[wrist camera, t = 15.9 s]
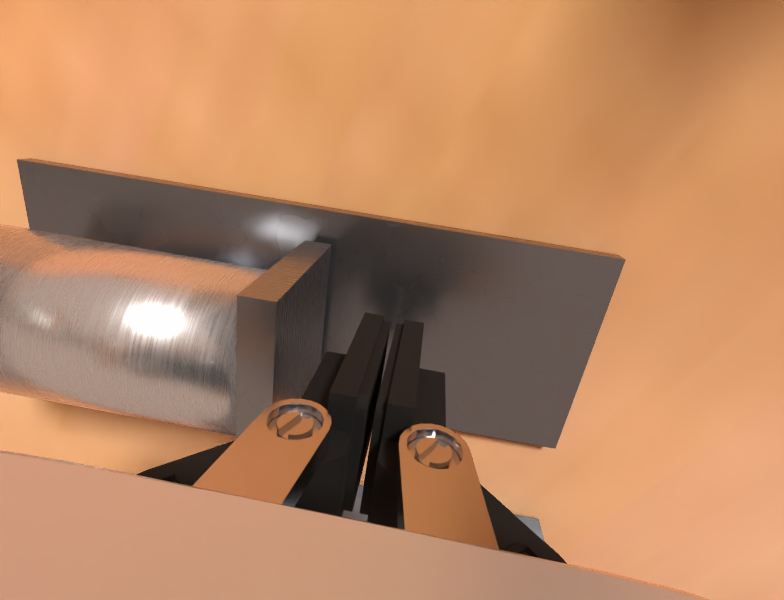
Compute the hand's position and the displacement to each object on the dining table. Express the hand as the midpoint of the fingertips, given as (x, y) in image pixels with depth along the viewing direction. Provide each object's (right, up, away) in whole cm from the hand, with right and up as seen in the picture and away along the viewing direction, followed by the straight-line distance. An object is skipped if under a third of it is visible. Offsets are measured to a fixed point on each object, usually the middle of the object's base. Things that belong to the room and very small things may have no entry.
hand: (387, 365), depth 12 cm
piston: (-7, +2, +3) cm, 8 cm away
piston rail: (-3, +2, +3) cm, 4 cm away
